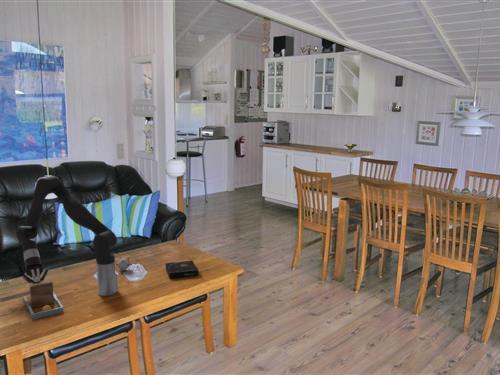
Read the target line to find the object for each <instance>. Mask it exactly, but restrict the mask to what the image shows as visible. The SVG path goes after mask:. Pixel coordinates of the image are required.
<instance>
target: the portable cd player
mask: <svg viewBox="0 0 500 375" xmlns="http://www.w3.org/2000/svg"><path fill="white" fill-rule="evenodd" d="M165 271H166V274H167V276H168V278H169V280H174V279H182V278H185V279H186V278H191V277H193V278H194V277H198V276H199V270H198V268H197V266H196V264H195V262H194V260H183V261H177V262H176V261H175V262H166V263H165Z"/></svg>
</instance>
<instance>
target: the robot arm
mask: <svg viewBox="0 0 500 375" xmlns="http://www.w3.org/2000/svg"><path fill="white" fill-rule="evenodd" d="M51 194H53V195H55V196H56V197H57V198H58V199H59V200H60V201H61V203H62V207H63V210H64V212H65V214H66V215H67V216H68V217H69V219H70V220H72V222H74V223H75V224H77V226H80V227H83V228H85V229H86V230H89V231H91V232H92V233H94V234H95V236H94V237H93V240H92V246H93V247H92V248H93V255H94V259H95V260H96V275H97V276H96V277H97V293H98V295H99V296H102V297H108V296H113V295H115V294H116V293H118V291H119V281H118V274H117V273H116V258H115V255H114V254H113V253H111V251H110V249H111V248H113V247H114V246H116V244H118V243H117V242H118V237H117V236H116V234H115V233H114V231H113V230H111V229H110V228H109V227H108V226H106V225H105V224H104V223H103V222H101V221H100V220H99V219H98V218H97V217H96V216H95V215H93V213H91V211H89V209H88V208H87V207H86V206H85V205H84V204H83V203H82V202H81V201H79V200H78V198H76V196H74V194H72V193H71V191H70V190H69V189H68V188H67V186H66V185H65V184H64V183H63V182H62V181H61V180H60V179H59V177H57V176H55V175H48V176H43V177H40V178H38V179H37V181H36V184H35V188H34V192H33V195H32V200H31V204H30V207H29V209H28V212H27V213H26V216H25V219H24V223H25V225H19V226H18V227H17V228H16V230H15V236H16V239H17V240H18V243H19V244H20V245H21V247H22V248H21V249H22V252H23V261H24V265H25V273H23V274H22V275H21V278H22V279H23V280H25V282H27V283H29V285H31V284H36V283H41V282H44V280H45V278H46V277H47V275H48V273H49V270H48V269H45V268H44V266H43V265H42V260H41V256H40V253H39V252H40V251H39V249H38V244H37V242H36V241H35V240H34V239H35V238H37V236H38V233H39V226H40V225H39V224H40V221H41V219H42V217H43V215H44V203H45V200H46V198H47V197H48V195H51ZM41 275H42V276H41Z"/></svg>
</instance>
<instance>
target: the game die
mask: <svg viewBox="0 0 500 375" xmlns="http://www.w3.org/2000/svg"><path fill="white" fill-rule="evenodd" d="M119 258H120V259H119V261H118V262H117V263H115V266H116V265H117V267H118V269H119V271H126V269H127V268H128V267H129V266H130V265H131V266H132V265H133V264H132V263H131V262H130V259H129V258H130V257H128V258H127V257H126V258H122V256H121V257H119ZM131 266H130V267H131ZM130 267H129V268H130Z"/></svg>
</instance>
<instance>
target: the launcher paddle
mask: <svg viewBox="0 0 500 375" xmlns="http://www.w3.org/2000/svg"><path fill="white" fill-rule="evenodd" d="M53 283H54V282H53V281H52V280H46V281H41V282H40V283H36V284H33V283H31V284H29V285H28V286H29V294H30V306H31V309H33V308H38V307H42V306H43V307H44V306H45V305H52V304H54V303H55V300H54V294H53V291H54V284H53Z"/></svg>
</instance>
